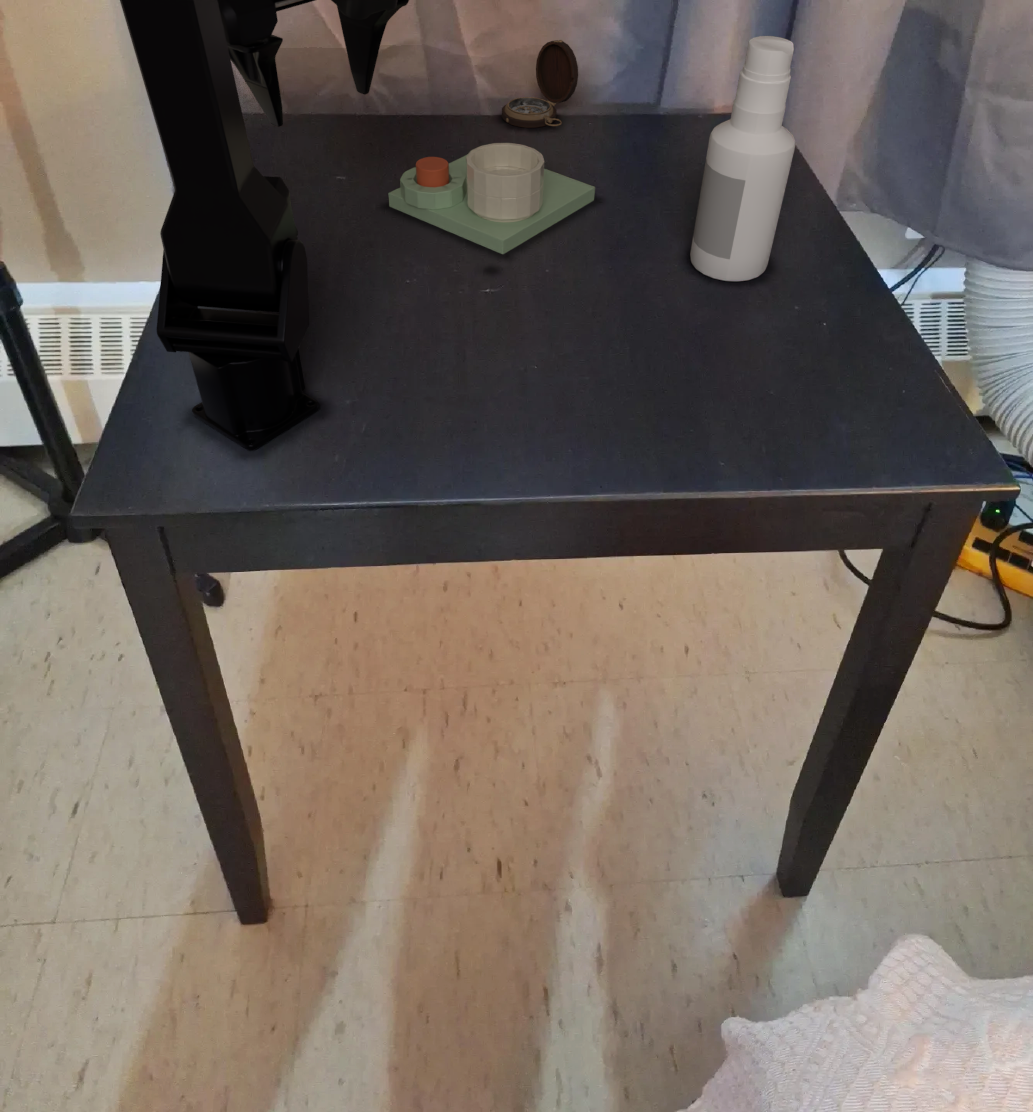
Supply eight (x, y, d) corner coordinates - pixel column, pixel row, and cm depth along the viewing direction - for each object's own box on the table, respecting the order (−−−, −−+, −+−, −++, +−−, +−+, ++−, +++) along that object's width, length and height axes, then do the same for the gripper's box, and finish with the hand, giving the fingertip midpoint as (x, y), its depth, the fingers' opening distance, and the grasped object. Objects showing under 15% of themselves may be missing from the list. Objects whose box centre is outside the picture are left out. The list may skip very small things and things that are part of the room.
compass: (489, 116, 105) (489, 46, 100) (542, 100, 108) (545, 31, 103) (536, 140, 101) (539, 68, 95) (590, 122, 104) (595, 51, 99)
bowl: (509, 232, 84) (510, 183, 80) (451, 208, 87) (450, 160, 83) (556, 205, 87) (559, 157, 84) (499, 183, 90) (499, 136, 87)
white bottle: (707, 237, 87) (745, 22, 74) (777, 257, 84) (830, 39, 71) (676, 269, 83) (711, 47, 70) (750, 291, 80) (800, 66, 67)
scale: (499, 257, 83) (499, 225, 81) (385, 208, 89) (383, 177, 87) (594, 200, 91) (596, 170, 89) (484, 159, 97) (483, 130, 95)
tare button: (434, 192, 86) (433, 173, 85) (410, 182, 87) (408, 164, 86) (455, 181, 88) (455, 162, 86) (431, 172, 89) (431, 153, 88)
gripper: (261, -85, 56) (299, 174, 67) (470, -129, 66) (473, 102, 77) (149, -114, 61) (202, 132, 72) (360, -152, 71) (377, 69, 82)
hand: (321, 108), depth 76 cm, fingers open, 9 cm apart
